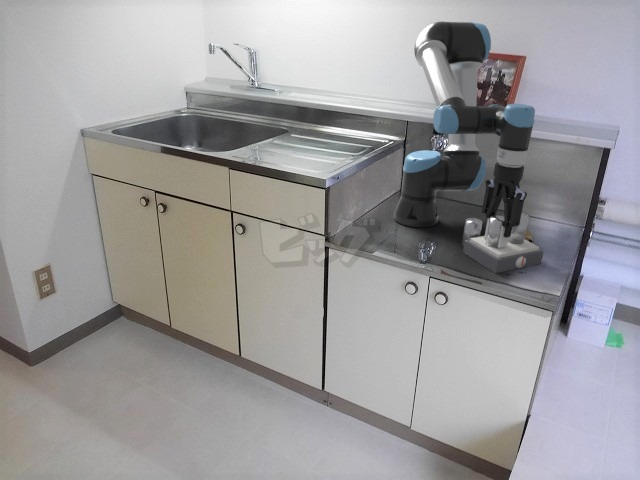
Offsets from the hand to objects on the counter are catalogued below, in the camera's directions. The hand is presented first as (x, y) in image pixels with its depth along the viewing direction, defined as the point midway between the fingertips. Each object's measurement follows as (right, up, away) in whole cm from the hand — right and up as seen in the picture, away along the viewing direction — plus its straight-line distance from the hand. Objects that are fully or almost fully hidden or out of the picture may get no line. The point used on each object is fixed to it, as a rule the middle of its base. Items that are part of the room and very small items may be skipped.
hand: (495, 242), depth 148 cm
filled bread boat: (+13, +1, +17) cm, 22 cm away
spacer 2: (0, 0, 0) cm, 1 cm away
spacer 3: (+7, +1, +3) cm, 8 cm away
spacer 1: (-4, -1, +12) cm, 12 cm away
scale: (+3, -5, +4) cm, 7 cm away
